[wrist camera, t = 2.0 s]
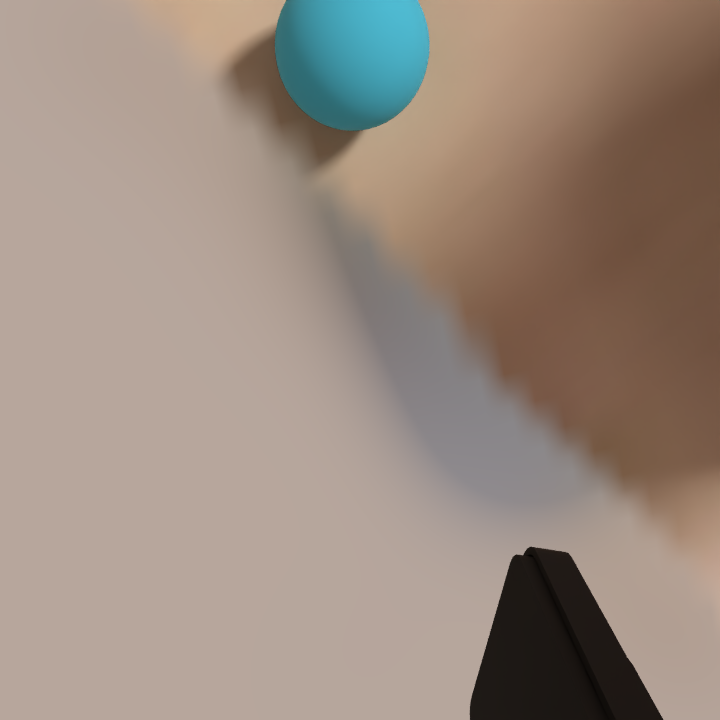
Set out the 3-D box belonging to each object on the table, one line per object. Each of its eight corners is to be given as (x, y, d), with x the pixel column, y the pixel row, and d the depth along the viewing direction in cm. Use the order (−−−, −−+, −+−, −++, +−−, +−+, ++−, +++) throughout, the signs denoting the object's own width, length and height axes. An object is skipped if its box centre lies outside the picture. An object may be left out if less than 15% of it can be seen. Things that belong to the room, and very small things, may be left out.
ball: (434, -2, 23) (456, -42, 19) (405, 144, 25) (419, 142, 20) (293, -32, 23) (279, -81, 18) (273, 119, 25) (255, 110, 20)
